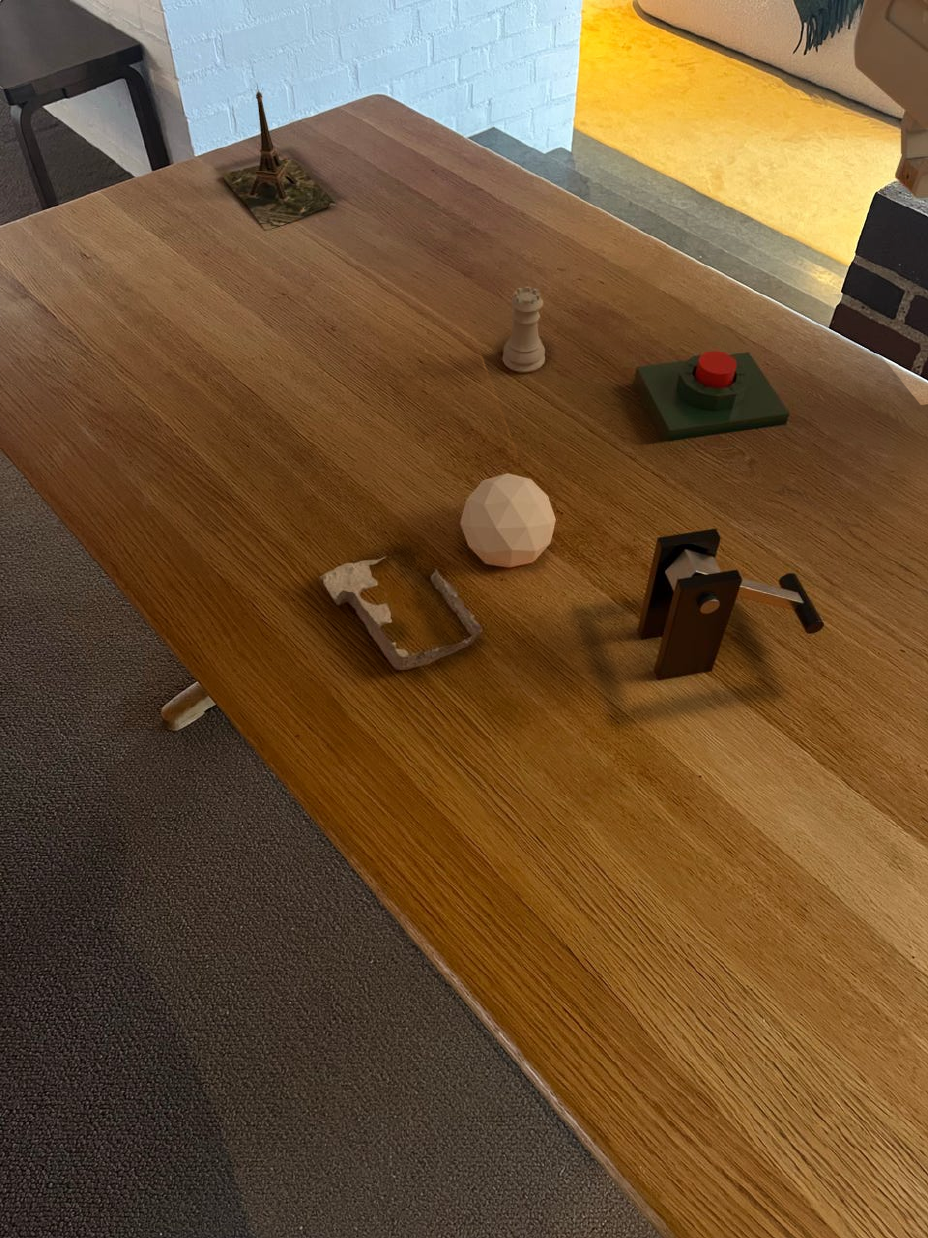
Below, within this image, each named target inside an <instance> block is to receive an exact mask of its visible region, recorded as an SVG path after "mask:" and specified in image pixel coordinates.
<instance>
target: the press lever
mask: <svg viewBox="0 0 928 1238" xmlns="http://www.w3.org/2000/svg"><path fill="white" fill-rule="evenodd" d="M719 572H722V570H721V568H720V566H719V565H718V562H717V560H716V557H715V558H714V557H712V556H708V555H704V554H701V553H697V552H694V551H690V550H686V549H685V550H684V551H683V552H682V553H681V554H680V555H679V556H678V558H677V559H676V560H675V561H674V562H673V563H672V564H671V565H670V566H669V567H668V568H667V570H666V571H665V573H666V575H667V577H668V580H669V582H670V584H671V586H672V588H673V591H674V589H675V586H676V582H677V579H682V578H688V577H694V576H701V575H707V574H713V573H719ZM741 578H742V583H741V586H740V589H739V592H738V595H737V597H738V598H743V599H745V600H750V601H754V602H758V603H762V604H766V605H770V606H772V607H773V606H774V607H778V608H782V609H785V610H789V611H793V612H794V614H795V616H796V618H797V619H798V621H799V623H800V625H801V627H802V629H803V631H804V632H805V633H806V634H807V635H813V634H816V633H818V632H820V631H821V630H822V629H824V626H825V623H824V621H823V619H822V617H821V616H820V614H819V612H818V610H817V609H816V607H815V605H814V603H813V601H812V600H811V598H810V596H809V595H808V593H807V591H806V589H805V588H804V586H803V584H802V582H801V580H800V579H799V577H798V576H797V574H796V573H794V572H789V573H786V574H784V575H782V576H780V578H779V580H778V585H779V587H778V586H775V585H771V584H767V583H763V582H759V581H756V580H752V579H748V578H744V577H741Z"/></svg>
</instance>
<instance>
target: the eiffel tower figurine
mask: <svg viewBox="0 0 928 1238" xmlns="http://www.w3.org/2000/svg"><path fill="white" fill-rule="evenodd" d="M258 86H259V85H258V83H256V87H257V89H259V87H258ZM255 96H256V97H255V99H256V100H257V107H258V119H259V129H260V144H261V145H260V146H261V147H260V150H259V153H260V159H259V165H253V166H251V167H246V168H241V169H238V170H233V171H228V172H224V173H222V174H221V176H222V177H223V179H224V180H225V182H226V183H227V184H228V186H229V187H230V189H231V190H232V191H233V193H235V194H236V195H237V196H238V198H240V199H241V202H243V203H244V204H245V205H246V206H247V207H248V209H249V211H250V212H251V213H252V214H253V215H254V217H255V218H256V221H258V223H259V224H260V226H261V227H262V228H263V230H264V231H268V230H271V229H272V230H273V229H275V228H278V227H280V226H281V227H282V226H283V225H286V224H289V223H292V222H295V221H297V220H300V219H302V218H306V217H307V216H309V215H312V214H314V213H316V212H318V211H321V210H324V209H326V208H327V209H328V208H329V207H333V206H336V205H338V203H337V202H336V201H335V200H334V199H333V198H332V197H331V196H330V195H329V194H328V193H327V192H326V191H325V190H324V189H323V188H322V187H321V186H320V185H319V184H318V183H317V182H316V181H315V180H314V179H313V177H311V176H310V175H309V174H308V173H307V172H306V171H305V170H304V169H303V168H302V167H301V166H300V165H299V164H298V163H296V162H295V161H294V160H293V159H292V158H291V157H287V158H284V159H280V157H279V156H278V153H277V151H276V147H275V146H274V144H273V141H272V136H271V134H270V130H269V126H268V121H267V117H266V111H265V108H264V103H263V94H262V92H260V91H259V90H257V92H256V94H255Z"/></svg>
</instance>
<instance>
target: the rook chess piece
mask: <svg viewBox="0 0 928 1238" xmlns="http://www.w3.org/2000/svg"><path fill="white" fill-rule="evenodd" d="M509 303H510V306H511V307H512V309H513V312H512V314H511V318H512V320H513V326H512V329H511V333H510V336H509V337H508V339H507V341H506V342H505V343H504V346H503V350H502V352H503V354H502V358H501V360H502V362H503V364H504V365H505V367H506V368H508V369H509V370H511V371H513V372H515V373H519V374H529V373H534V372H535V371H538V370H539V369H540V368H541V367H542V365H544V364H545V361H546V356H545V353H546V349H545V346H544V344H543V342H542V339H541V337H540V335H539V326H538V325H539V324H538V321H539V320H540V319H541V313H540V312H539V310H540V309H541V308H542V307H543V306H544V300H543V299H542V297H541V293H540V292H539V289H538V288H536V287H535V288H533V291H532V287H531V286H527V285H526V286H525V290H523V288H522V287H518V288H517V289H516V291H515V290H514V293H513V296H512V298H510V301H509Z"/></svg>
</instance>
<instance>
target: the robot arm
mask: <svg viewBox="0 0 928 1238" xmlns="http://www.w3.org/2000/svg"><path fill="white" fill-rule="evenodd" d="M858 18H859V19H858V22H857V26H856V31H855V36H854V41H853V57H854V58H853V59H854V67H855V68H856V69H857V70H858V71H859V72H860V73H862V74H863V75H864V77H867V78H868V80H870V81H871V82H872V83H873V84H874V85H876V86H877V87H878V88H879V89H880V90H881V91H882V92H883V93H884V94H885V95H887V97H889V98H890V99H891V100H892V101H894V102H895V103H896V104H897V105H898V106H899V107H900V108H902V109H903V110H904V113H903V115H902V118H901V122H900V154H901V157H900V159H899V162H898V165H897V168H896V171H895V172H894V173H895V175H894V179H896V180H897V181H898V182H899V183H900V184H901V185H902V186H903V187H905V188H906V189H907V190H908V191H909V192H910V193H911V194H912V196H913V197H915V198H916V199H925V198H928V0H864V1H863V3H862V6H861V11H860V15H859V17H858Z"/></svg>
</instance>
